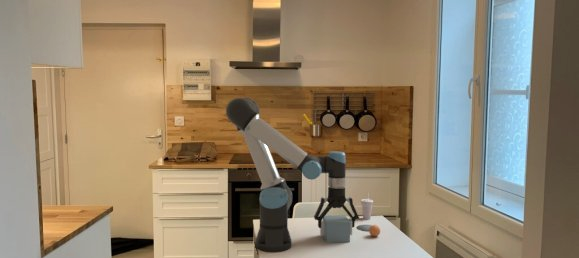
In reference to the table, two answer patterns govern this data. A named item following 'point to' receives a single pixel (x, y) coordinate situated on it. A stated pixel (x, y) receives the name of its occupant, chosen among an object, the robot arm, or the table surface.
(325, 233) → the blue-grey block
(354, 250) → the table surface
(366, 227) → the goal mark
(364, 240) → the table surface
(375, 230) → the brown egg
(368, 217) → the smoothie
